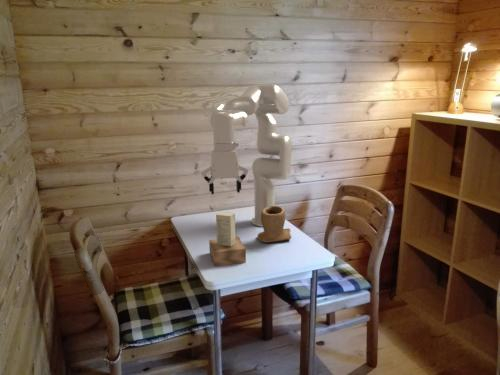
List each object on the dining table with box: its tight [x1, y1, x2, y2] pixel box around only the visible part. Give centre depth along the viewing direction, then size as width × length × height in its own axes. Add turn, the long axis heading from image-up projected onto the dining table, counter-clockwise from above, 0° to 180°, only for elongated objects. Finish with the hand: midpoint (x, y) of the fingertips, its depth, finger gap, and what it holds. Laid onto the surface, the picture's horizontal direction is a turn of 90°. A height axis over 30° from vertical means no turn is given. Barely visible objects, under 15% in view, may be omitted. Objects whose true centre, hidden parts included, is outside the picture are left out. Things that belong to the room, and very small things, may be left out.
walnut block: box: [208, 236, 247, 267], centre depth 157 cm, size 12×12×6 cm
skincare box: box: [215, 211, 236, 246], centre depth 155 cm, size 6×4×12 cm
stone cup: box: [257, 205, 292, 243], centre depth 172 cm, size 15×12×15 cm
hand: (225, 192), depth 151 cm, fingers open, 9 cm apart
